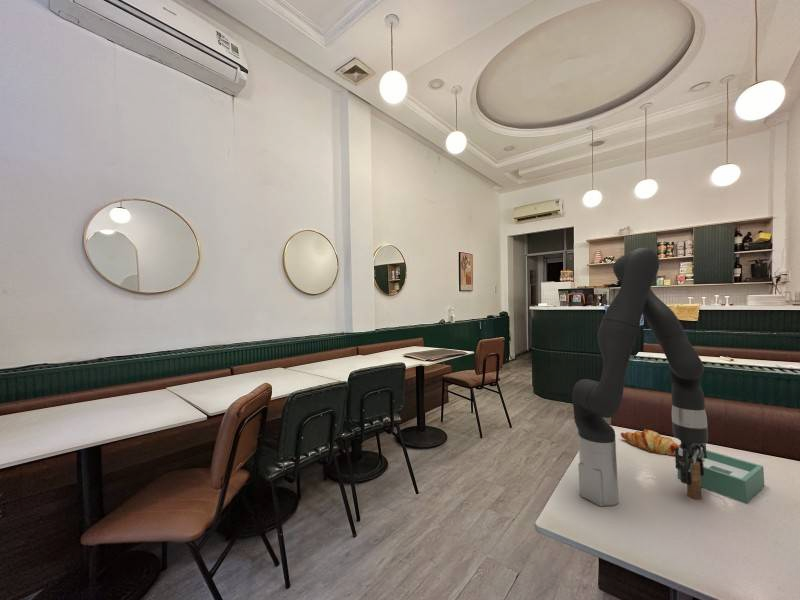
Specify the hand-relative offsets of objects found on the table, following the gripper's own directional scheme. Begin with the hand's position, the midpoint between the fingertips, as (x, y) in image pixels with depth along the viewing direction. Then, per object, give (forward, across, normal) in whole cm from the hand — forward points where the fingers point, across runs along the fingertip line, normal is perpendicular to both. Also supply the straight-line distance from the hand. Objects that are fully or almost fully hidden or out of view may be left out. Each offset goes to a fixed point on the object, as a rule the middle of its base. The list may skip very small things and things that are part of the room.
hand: (692, 479), depth 91 cm
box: (+5, +14, -2) cm, 15 cm away
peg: (+5, -1, 0) cm, 5 cm away
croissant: (+5, +24, +19) cm, 31 cm away
